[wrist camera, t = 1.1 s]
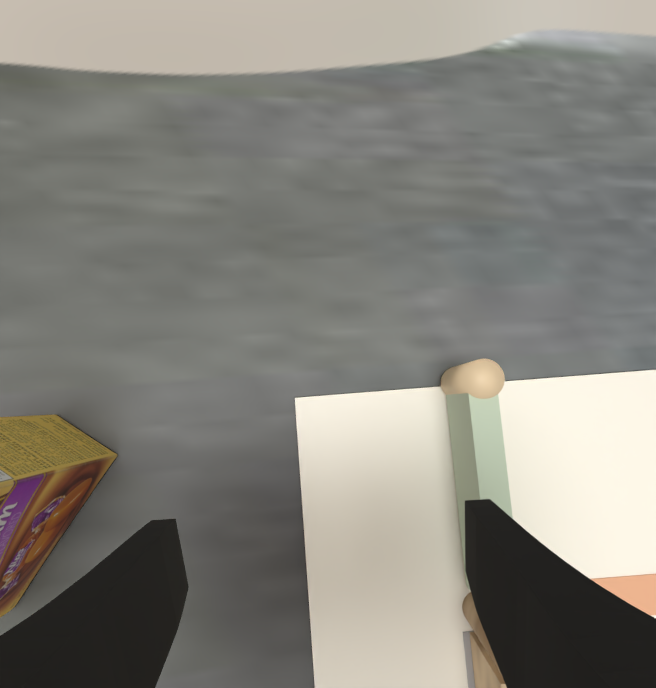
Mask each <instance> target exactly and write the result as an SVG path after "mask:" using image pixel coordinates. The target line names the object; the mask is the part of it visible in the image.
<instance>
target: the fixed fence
mask: <svg viewBox="0 0 656 688" xmlns="http://www.w3.org/2000/svg"><path fill="white" fill-rule="evenodd" d="M462 610H463V614H464V616H465V618H466V619H467V621H468V623H469V624H470V626H471V627H472V629H473V631H474V632H470V642H471V651H472V661H473V670H474V680H475V688H507V687H506V684H505V682H504V679H503V677H502V674H501V672H500V669H499V667H498V664H497V662H496V660H495V657H494V655H493V652H492V650H491V647H490V645H489V642H488V640H487V637H486V635H485V632H484V630H483V627H482V624H481V622H480V619H479V617H478V614H477V612H476V608H475V605H474V601H473V597H472V594H471V592H470V593H469V594H467V595H466V597H465V598H464V600H463V604H462Z"/></svg>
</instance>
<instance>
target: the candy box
mask: <svg viewBox="0 0 656 688" xmlns="http://www.w3.org/2000/svg"><path fill="white" fill-rule="evenodd" d="M116 457H117V454H116V453H114V452H112V451H111V450H109V449H107V448H106V447H104V446H103V445H101V444H100V443H98V442H97V441H95V440H94V439H92V438H91V437H89V436H87V435H86V434H84V433H83V432H81V431H80V430H78V429H77V428H75V427H74V426H72V425H71V424H69V423H68V422H66V421H65V420H64V419H62V418H61V417H59V416H58V415H38V416H17V417H0V617H2V616H3V615H4V614H6V613H7V612H9V611H10V610H11V609H13V608H14V607H15V605H16V604H17V603H18V601H19V600H20V598H21V597H22V595H23V593H24V592H25V590H26V589H27V587H28V586H29V584H30V582H31V581H32V579H33V578H34V576H35V575H36V573H37V572H38V570H39V569H40V567H41V566H42V564H43V563H44V561H45V560H46V558H47V557H48V555H49V554H50V553H51V551H52V549H53V548H54V546H55V545H56V544H57V542H58V541H59V539H60V538H61V536H62V535H63V533H64V532H65V531H66V529H67V528H68V526H69V525H70V523H71V522H72V520H73V519H74V517H75V516H76V514H77V513H78V512H79V510H80V509H81V507H82V506H83V504H84V503H85V501H86V500H87V499H88V497H89V496H90V494H91V493H92V491H93V490H94V488H95V487H96V485H97V484H98V482H99V481H100V479H101V478H102V477H103V475H104V474H105V472H106V471H107V469H108V468H109V467H110V465H111V464H112V462H113V461H114V460H115V459H116Z"/></svg>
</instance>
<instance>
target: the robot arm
mask: <svg viewBox="0 0 656 688" xmlns="http://www.w3.org/2000/svg"><path fill="white" fill-rule="evenodd" d="M465 571H466V575H467V579H468V583H469V586H470V590H471V594H472V597H473V601H474V605H475V608H476V612H477V614H478V617H479V619H480V622H481V624H482V627H483V630H484V632H485V635H486V637H487V640H488V642H489V645H490V647H491V650H492V652H493V655H494V657H495V660H496V662H497V664H498V667H499V669H500V672H501V674H502V677H503V679H504V682H505V684H506V687H507V688H656V618H654V617H652V616H650V615H648V614H647V613H645V612H643V611H641V610H640V609H638V608H636V607H634V606H632V605H631V604H629V603H627V602H626V601H624V600H622V599H621V598H619V597H618V596H616V595H614V594H613V593H611V592H610V591H608V590H606V589H605V588H603V587H601V586H600V585H598V584H597V583H595V582H594V581H592V580H591V579H589V578H588V577H586V576H585V575H584V574H582V573H581V572H579V571H578V570H577V569H575V568H574V567H572V566H571V565H570V564H568V563H567V562H565V561H564V560H563V559H561V558H560V557H559V556H557V555H556V554H555V553H553V552H552V551H551V550H550V549H548V548H547V547H546V546H545V545H543V544H542V543H541V542H540V541H538V540H537V539H536V538H535V537H533V536H532V535H531V534H530V533H529V532H527V531H526V530H525V529H524V528H523V527H522V526H520V525H519V524H518V523H517V522H516V521H515V520H513V519H512V518H511V517H510V516H509V515H508V514H507V513H505V512H504V511H503V510H502V509H501V508H500V507H499V506H497V505H496V504H495V503H494V502H493V501H492V500H490V499H481V500H465ZM187 591H188V582H187V577H186V572H185V566H184V561H183V556H182V551H181V545H180V540H179V535H178V530H177V524H176V519H167V520H152V521H150V522H149V523H148V524H146V525H145V526H144V527H142V528H141V529H140V530H139V531H137V532H136V533H135V534H134V535H133V536H131V537H130V538H129V539H128V540H127V541H125V542H124V543H123V544H122V545H121V546H120V547H118V548H117V549H116V550H115V551H114V552H112V553H111V554H110V555H109V556H108V557H106V558H105V559H104V560H103V561H102V562H100V563H99V564H98V565H97V566H96V567H94V568H93V569H92V570H91V571H90V572H88V573H87V574H86V575H85V576H83V577H82V578H81V579H79V580H78V581H77V582H75V583H74V584H73V585H72V586H70V587H69V588H68V589H66V590H65V591H64V592H63V593H61V594H60V595H59V596H57V597H56V598H55V599H53V600H52V601H51V602H50V603H48V604H47V605H45V606H44V607H43V608H41V609H40V610H38V611H37V612H36V613H34V614H33V615H31V616H30V617H28V618H27V619H25V620H24V621H22V622H21V623H19V624H18V625H16V626H15V627H13V628H12V629H10V630H9V631H7V632H6V633H4V634H3V635H1V636H0V688H155V686H156V684H157V681H158V679H159V676H160V674H161V671H162V669H163V666H164V663H165V661H166V658H167V656H168V653H169V651H170V648H171V645H172V643H173V640H174V638H175V635H176V632H177V630H178V626H179V623H180V619H181V615H182V612H183V608H184V604H185V599H186V595H187Z"/></svg>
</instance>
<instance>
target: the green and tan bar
mask: <svg viewBox="0 0 656 688" xmlns="http://www.w3.org/2000/svg"><path fill="white" fill-rule="evenodd" d="M504 381H505V378H504V373H503V371H502V369H501V367H500V366H499V365H498V364H497V363H496V362H494V361H492V360H489V359H479V360H475V361H472V362H468V363H465V364H462V365H458V366H455V367H452V368H449V369H448V370H446V371H445V372H444V374H443V375H442V377H441V388H442V390H443V392H444V393H445V394H446V400H447V410H448V419H449V429H450V438H451V447H452V457H453V466H454V476H455V485H456V495H457V504H458V514H459V523H460V533H461V542H462V552H463V561H464V571H465V500H481V499H490V500H492V501H493V502H494V503H495V504H496V505H497V506H499V507H500V508H501V509H502V510H503V511H504V512H505V513H507V514H508V515H509V516H510V517H511V518H512V519H513V516H512V507H511V499H510V491H509V482H508V474H507V465H506V457H505V448H504V440H503V431H502V423H501V414H500V406H499V397H498V394H499V392H500V391H501V390H502V388H503V386H504ZM465 580H466V586H467V587H468V589H469V590H470V586H469V583H468V579H467V575H466V571H465ZM470 591H471V590H470Z"/></svg>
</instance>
